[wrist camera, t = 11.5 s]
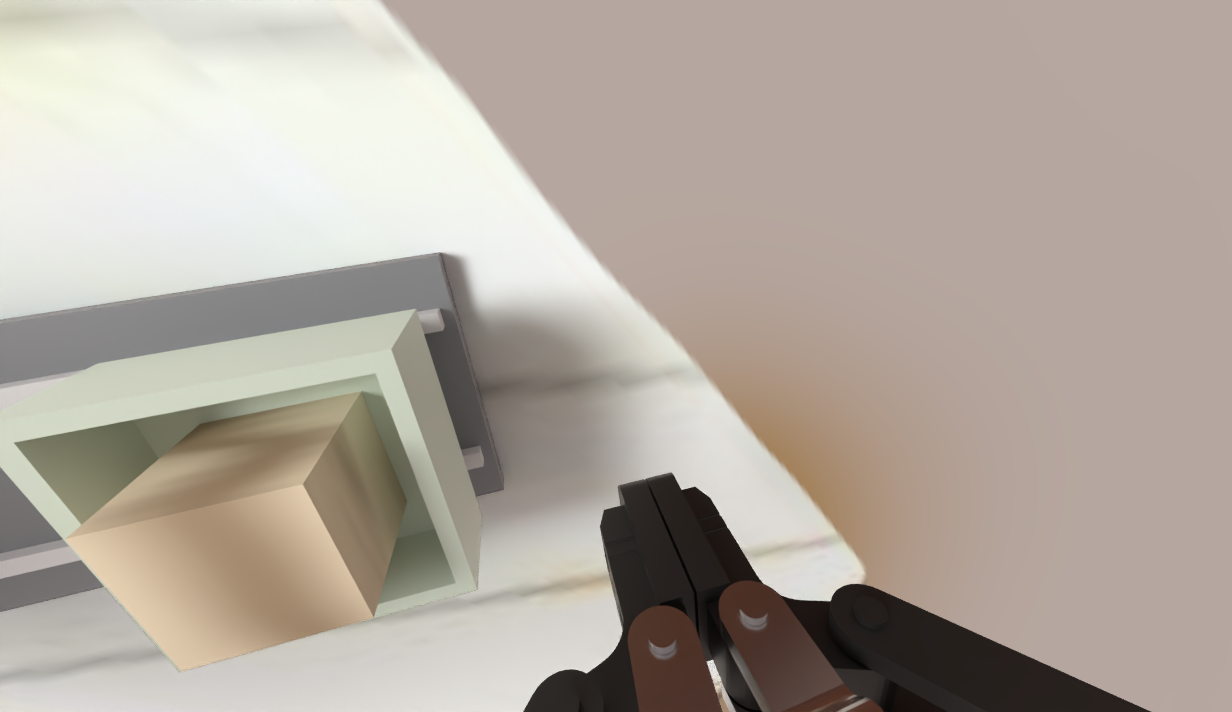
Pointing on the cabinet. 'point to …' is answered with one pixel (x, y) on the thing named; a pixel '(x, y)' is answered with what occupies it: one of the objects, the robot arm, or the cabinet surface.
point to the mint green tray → (248, 383)
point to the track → (79, 338)
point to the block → (253, 531)
